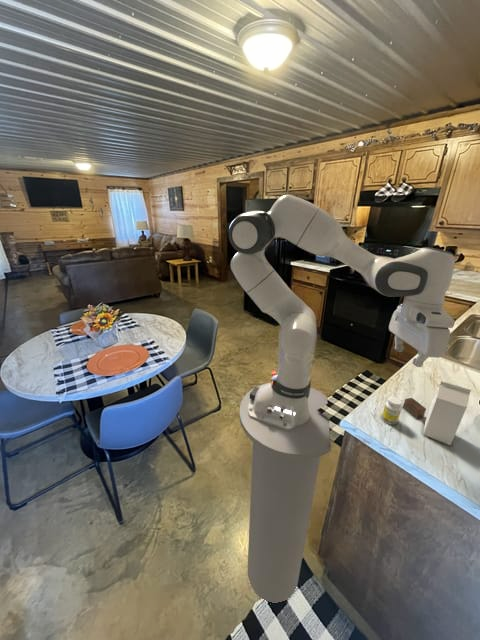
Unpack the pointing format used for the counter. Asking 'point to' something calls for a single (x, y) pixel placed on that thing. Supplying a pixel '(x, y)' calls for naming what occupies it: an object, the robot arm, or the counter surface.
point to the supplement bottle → (392, 410)
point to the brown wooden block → (414, 408)
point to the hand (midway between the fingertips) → (407, 357)
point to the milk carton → (446, 412)
